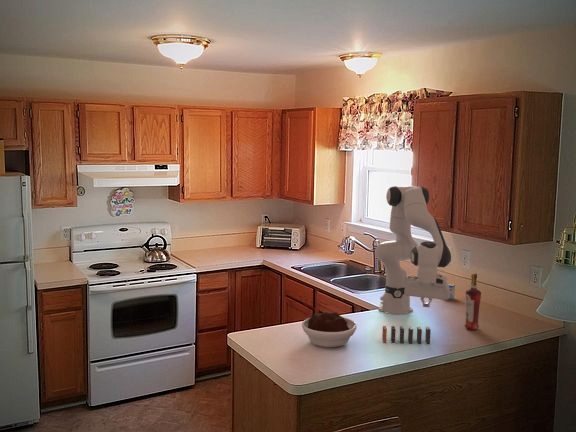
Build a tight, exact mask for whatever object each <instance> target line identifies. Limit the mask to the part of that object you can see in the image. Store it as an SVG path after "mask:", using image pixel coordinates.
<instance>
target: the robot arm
mask: <svg viewBox="0 0 576 432" xmlns="http://www.w3.org/2000/svg"><path fill="white" fill-rule="evenodd" d="M429 200H430V192H429V190H428V188H427V187H424V186H415V185H399V186H390V187H389V188H388V189H387V192H386V202H387V204H388V205H389V206H390V207H391V210H390V217H389V218H390V219H389V230H390V232H392V234H394V235H395V238H396V240H389V241H384V242H383V241H382V242H381V243H379V244H377V246H376V248H375V256H376V258H377V259H378V260H379V261H380V262H381V263H382V265H383V266H384V269H385V274H386V275H385V276H386V277H385V285H384V293H383V294H382V295H381V296H380V303H379V306H378V307H377V311H380V312H384V313H386V314H390V315H391V314H392V315H393V314H394V315H404V314H408V313H409V312H410V313H411V312H413V311H414V309H413V308H412V307H411V297H416V298H420V301H421V303H422V308H430V306H431V302H432V301H433V299H434V300H443V301H444V300H445V301H448V299H449V296H450V291H449V285H448V284H449V283H448V277H447V276H444V275H442V274H440V273H438V272H439V271H438V268H445V267H448V265H450V263H451V261H452V253H451V250H450V248H449V247H448V246H447V243H446V239H445V238H444V235H443V233H442V232H443V231H442V229H441V227H440V225H439V223H438V219H436V218H435V217H434V216H433V215H431V213H430V212H429V210H428V207H427V205H428V204H429ZM411 227H415V228H418V229H421V230H424V231H425V232H428V233H429V234H430V235H431V237H432V240H433V242H432V241H425V240H424V241H422V242H420V244H418V242H416V241H415V240H414V238H413V236H412V230H411ZM400 261H410V263H412V264H413V265H414V266H416V267H418V269H417V276H413V275H412V276H411V275H408V273H407V271H406V270H405V268H403V267H401V264H400ZM425 299H428V302H427V301H426V302H425Z"/></svg>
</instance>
